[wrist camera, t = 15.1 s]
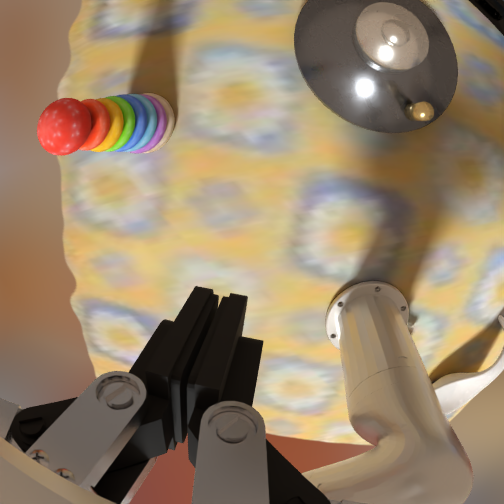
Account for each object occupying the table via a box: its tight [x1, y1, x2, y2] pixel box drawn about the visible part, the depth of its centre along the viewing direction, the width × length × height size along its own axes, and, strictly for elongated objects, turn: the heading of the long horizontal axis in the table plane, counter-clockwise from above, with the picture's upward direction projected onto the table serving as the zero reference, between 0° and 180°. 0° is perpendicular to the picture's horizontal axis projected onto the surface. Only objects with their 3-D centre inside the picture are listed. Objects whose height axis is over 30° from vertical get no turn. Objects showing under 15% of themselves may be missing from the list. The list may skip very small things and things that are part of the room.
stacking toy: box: [37, 93, 175, 155], centre depth 27 cm, size 8×8×19 cm
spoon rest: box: [432, 315, 504, 415], centre depth 40 cm, size 24×12×7 cm, turn 154°
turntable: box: [294, 0, 458, 133], centre depth 25 cm, size 20×20×6 cm
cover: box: [352, 2, 429, 74], centre depth 23 cm, size 8×8×4 cm
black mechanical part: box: [469, 0, 504, 35], centre depth 19 cm, size 12×7×5 cm, turn 57°
